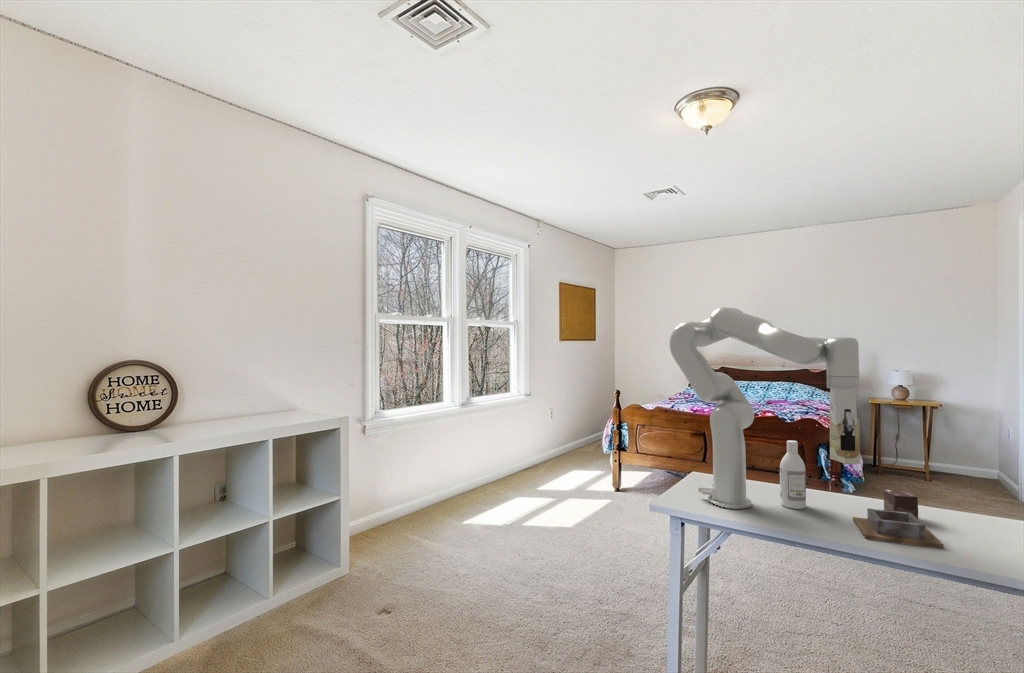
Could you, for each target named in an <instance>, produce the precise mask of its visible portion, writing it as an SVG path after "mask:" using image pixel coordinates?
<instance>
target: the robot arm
mask: <svg viewBox="0 0 1024 673" xmlns="http://www.w3.org/2000/svg"><path fill="white" fill-rule="evenodd" d="M729 338H731V339H734V340H738V341H740V342H743V343H745V344H748V345H751V346H754V347H755V348H757V349H760V350H762V351H765V352H767V353H769V354H771V355H774V356H776V357H778V358H780V359H784V360H788V361H790V362H792V363H795V364H799V365H805V366H807V365H813V364H820V363H825V365H826V368H825V369H826V371H825V372H826V388H827V389H830V390H829V419H830V416H831V420H832V422H833V423H834V424H835V425H838V424H840V425H841V433H842V435H840V442H841V450H843V451H855V433H854V426H855V425H856V423H857V417H858V416H857V415H858V414H857V413H858V412H857V395H856V393H857V392H856V390H857V389H858V390H859V389H861V386H860V380H861V379H860V359H859V358H860V355H859V354H860V352H859V351H860V350H859V341H858V339H856V338H854V337H831V338H823V337H822V338H821V337H809V336H807V337H805V336H802V335H799V334H795V333H793V332H790V331H788V330H783V329H781V328H779V327H777V326H774V325H773V323H772V322H770V321H768V320H767V319H763V318H760V317H758V316H754V315H751V314H747V313H744V312H743V311H742V310H740V309H739V308H734V307H725V306H724V307H720V308H719V307H718V308H716V309H715V310H713V312H712V313H711V315H710V316H709V318H708V319H705V320H703V321H686V322H684V321H683V322H682V323H679V324H678V325H677V326H675V328H674V329H673V330H672V332H671V335H670V337H669V349H670V350H669V351H670V354H671V356H672V357H673V359H674V361H675V362H676V364H677V366H678V368H679V369H680V370H681V371H682V373H683V375H684V376H685V378H686V380H687V382H688V383H689V384H690V386H691V388H692V390H694V392H695V395H697V397H698V398H699V399H700V400H701V401H702V402H704V403H710V404H712V403H715V405H716V406H715V407H714V408H713V410H712V411H711V413H710V415H709V424H710V425H709V426H710V432H711V438H712V440H711V441H712V482H713V483H712V484H711V485H712V486H708V487H705V486H701V485H700V486H698V493H701V495H707V496H708V497H707V499H708V500H709V501H710V502H711V504H712V503H713V504H715V505H714V506H716V505H718V506H717V507H719V506H721V507H720V508H723V507H725V508H724V509H730V508H731V509H730V510H732V509H733V510H743V509H749V508H750V507H752V506H753V505H752V504H753V502H752V500H751V499H750V498H748V497H747V461H746V460H747V459H746V458H747V457H746V456H747V454H746V441H745V435H744V429H747V428H749V427H750V426H752V424H753V422H754V419H755V411H754V409H753V406H752V405H751V404H750V401H749V400H748V399H747V397H746V396H745V394H744V393H743V392H742V390H741V389H740V387H739V386H738V384H737V383H736V382H735V380H734V379H733V378H732V377H731V376H729V375H728V374H726V373H724V372H721V371H719V372H716V371H715V370H714V369H713V367H712V365H710V363H709V362H708V360H707V359H706V357H704V355H703V354H702V353H701V352H700V351H699V350H698V348H703V347H707V346H710V345H713V344H715V343H718V342H720V341H722V340H723V341H724V340H725V339H729ZM844 415H845V416H844ZM844 419H846V423H847V424H843V421H844ZM853 420H854V423H853ZM853 424H854V425H853ZM844 427H845V428H844ZM844 429H845V430H844ZM709 501H708V502H709ZM710 502H709V503H710ZM713 504H712V505H713Z"/></svg>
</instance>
